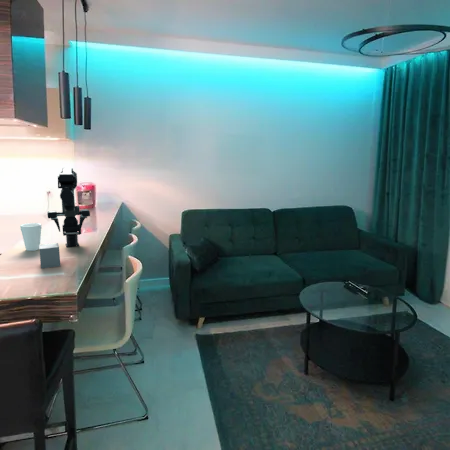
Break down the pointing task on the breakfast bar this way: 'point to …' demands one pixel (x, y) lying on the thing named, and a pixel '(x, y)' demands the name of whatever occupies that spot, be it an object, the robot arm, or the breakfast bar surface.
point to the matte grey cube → (49, 255)
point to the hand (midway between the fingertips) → (70, 230)
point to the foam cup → (31, 235)
